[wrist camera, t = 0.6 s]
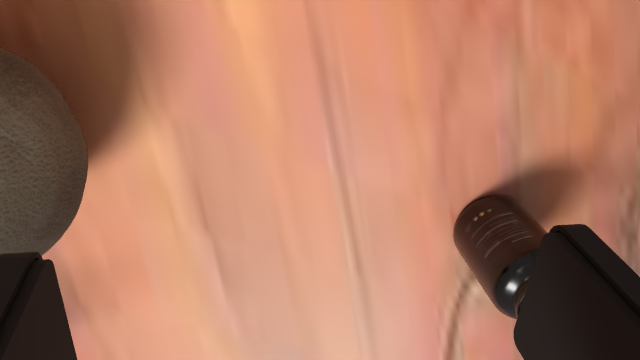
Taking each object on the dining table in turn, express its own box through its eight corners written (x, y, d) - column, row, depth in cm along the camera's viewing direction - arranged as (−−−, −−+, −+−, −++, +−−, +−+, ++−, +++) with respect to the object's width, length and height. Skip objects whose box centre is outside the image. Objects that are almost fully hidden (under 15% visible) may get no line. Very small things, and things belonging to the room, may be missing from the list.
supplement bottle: (534, 227, 49) (618, 319, 39) (471, 267, 50) (536, 367, 40) (504, 177, 46) (586, 263, 36) (437, 221, 47) (498, 317, 37)
